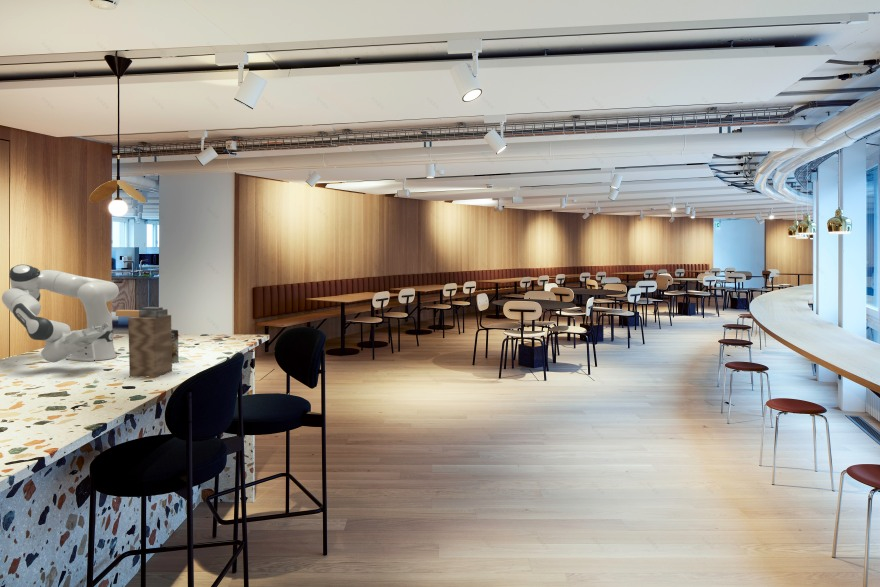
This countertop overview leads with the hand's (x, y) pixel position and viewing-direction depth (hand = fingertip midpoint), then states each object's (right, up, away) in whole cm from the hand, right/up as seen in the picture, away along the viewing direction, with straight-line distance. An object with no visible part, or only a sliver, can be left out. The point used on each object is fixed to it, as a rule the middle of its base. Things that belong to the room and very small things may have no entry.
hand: (100, 326), depth 271 cm
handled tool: (+17, +5, -1) cm, 18 cm away
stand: (+23, -21, 0) cm, 31 cm away
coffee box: (+18, -20, +25) cm, 37 cm away
